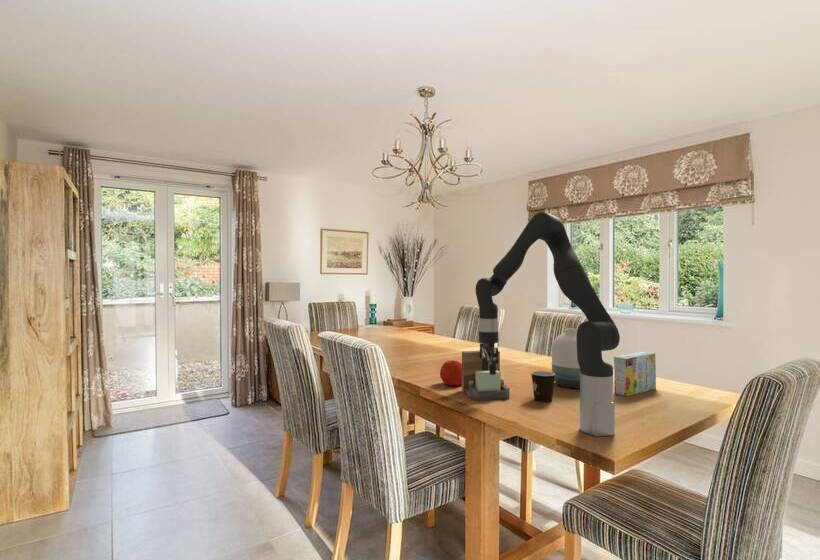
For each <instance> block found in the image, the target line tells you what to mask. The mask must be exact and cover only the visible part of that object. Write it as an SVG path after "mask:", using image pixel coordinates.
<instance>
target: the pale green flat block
mask: <svg viewBox="0 0 820 560" xmlns="http://www.w3.org/2000/svg"><path fill="white" fill-rule="evenodd" d="M501 376H502V374H501V371H498V370H496V374H495V375H491V374H490V371H476V389H478V392H481V391H501V379H502V377H501Z"/></svg>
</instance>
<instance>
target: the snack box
mask: <svg viewBox="0 0 820 560" xmlns="http://www.w3.org/2000/svg"><path fill="white" fill-rule="evenodd" d="M613 364H614V365H613V366H614V367H613V381H614V394H615V395H618V396H619V395H620V396H623V397H629V396H632V395H633V396H634V395H637V394H641V393H645V392H649V391H652V390H656V389H657V379H656V378H657V376H656V373H657V371H656V368H657V367H656V352H651V351H639V352H634V353H628V354H623V355H617V356H614V357H613Z"/></svg>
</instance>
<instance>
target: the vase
mask: <svg viewBox="0 0 820 560" xmlns="http://www.w3.org/2000/svg"><path fill="white" fill-rule="evenodd" d="M577 330H578V328H572V327H571V328H564V331H563V333H561V334H559V335H558V336H556V338H555V339H554V340H553V342H552V346H551V372H552V373H555V380H554V383H556V384H557V385H559V386H561V387H567V388H573V389H580V367H579V364H578V360H577V341H576V336H577Z"/></svg>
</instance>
